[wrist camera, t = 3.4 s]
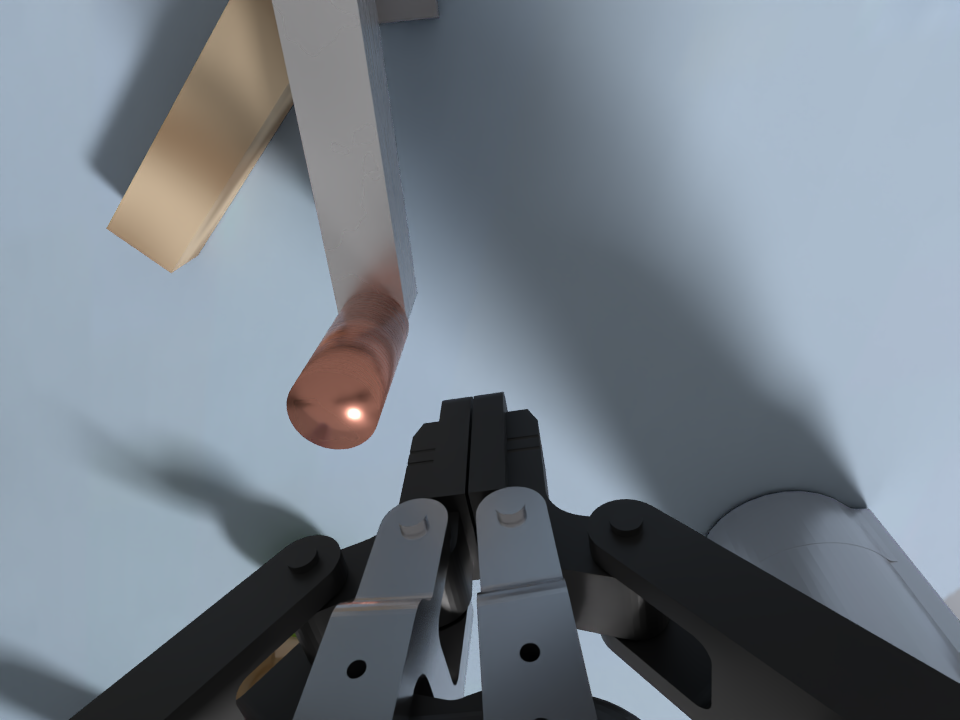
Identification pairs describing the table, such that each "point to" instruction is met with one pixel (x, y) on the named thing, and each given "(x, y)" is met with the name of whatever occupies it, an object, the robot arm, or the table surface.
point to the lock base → (218, 132)
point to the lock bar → (349, 214)
